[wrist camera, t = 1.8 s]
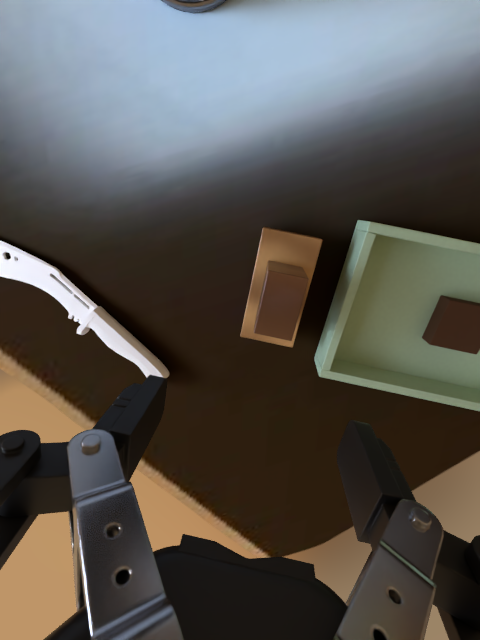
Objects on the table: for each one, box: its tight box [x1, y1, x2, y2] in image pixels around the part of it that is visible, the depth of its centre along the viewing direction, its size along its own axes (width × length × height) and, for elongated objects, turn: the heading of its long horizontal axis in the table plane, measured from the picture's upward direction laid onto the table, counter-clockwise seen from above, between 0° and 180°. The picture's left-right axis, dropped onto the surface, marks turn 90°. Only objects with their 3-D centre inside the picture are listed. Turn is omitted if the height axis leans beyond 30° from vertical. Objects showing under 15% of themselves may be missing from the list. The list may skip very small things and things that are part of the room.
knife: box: [0, 241, 170, 378], centre depth 32 cm, size 30×2×8 cm
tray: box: [314, 220, 480, 411], centre depth 27 cm, size 14×20×4 cm
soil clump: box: [422, 295, 480, 354], centre depth 28 cm, size 4×4×2 cm
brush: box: [240, 227, 323, 347], centre depth 26 cm, size 10×5×8 cm, turn 169°
